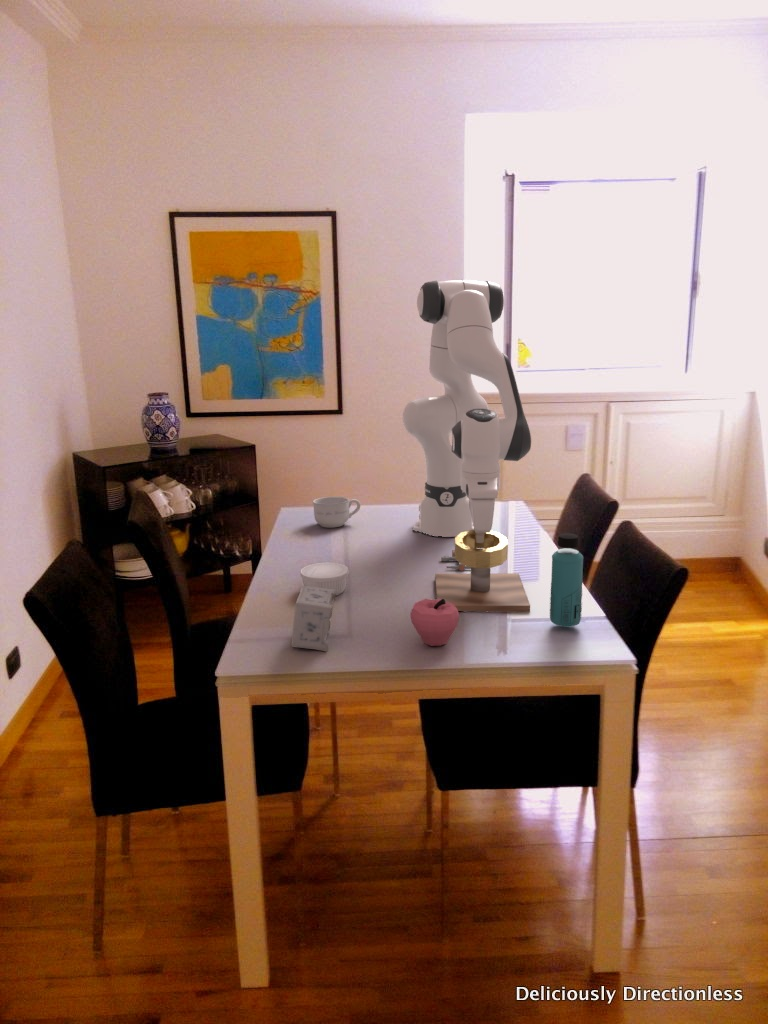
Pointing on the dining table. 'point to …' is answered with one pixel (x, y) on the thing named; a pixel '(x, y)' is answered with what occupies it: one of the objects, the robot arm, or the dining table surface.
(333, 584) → the ramekin
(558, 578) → the beverage bottle
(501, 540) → the wooden ring
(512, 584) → the piston stand
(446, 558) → the clamp
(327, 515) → the teacup
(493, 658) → the dining table surface
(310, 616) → the incense holder
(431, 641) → the apple
